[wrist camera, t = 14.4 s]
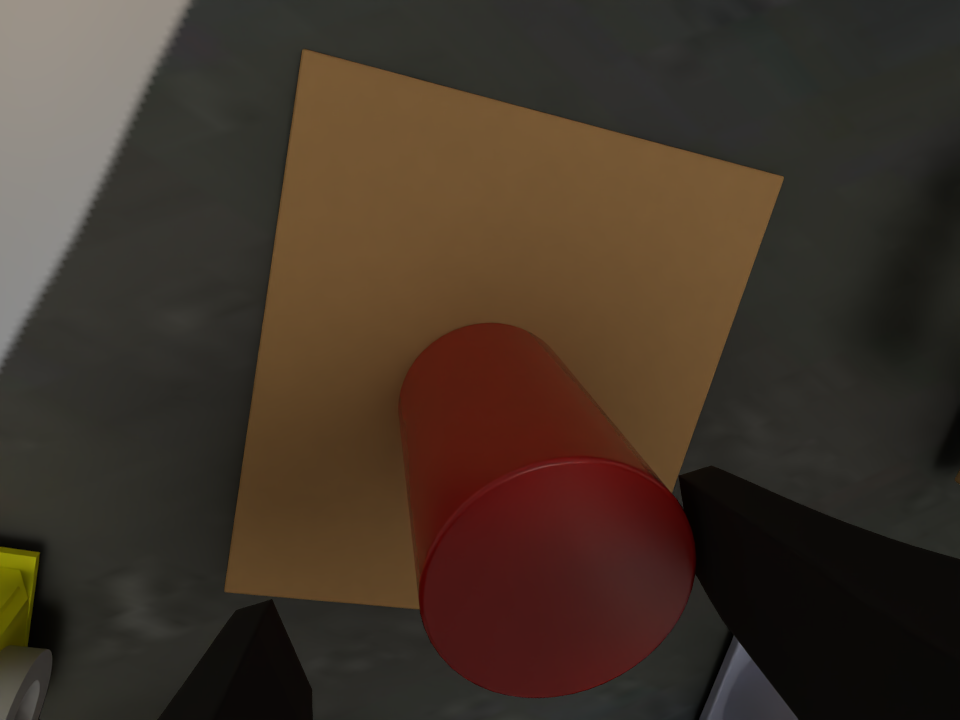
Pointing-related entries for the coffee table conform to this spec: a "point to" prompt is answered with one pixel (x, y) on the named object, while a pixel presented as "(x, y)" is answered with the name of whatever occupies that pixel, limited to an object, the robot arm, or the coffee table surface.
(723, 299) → the mat
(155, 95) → the coffee table surface
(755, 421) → the coffee table surface
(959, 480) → the drawer
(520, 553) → the can
